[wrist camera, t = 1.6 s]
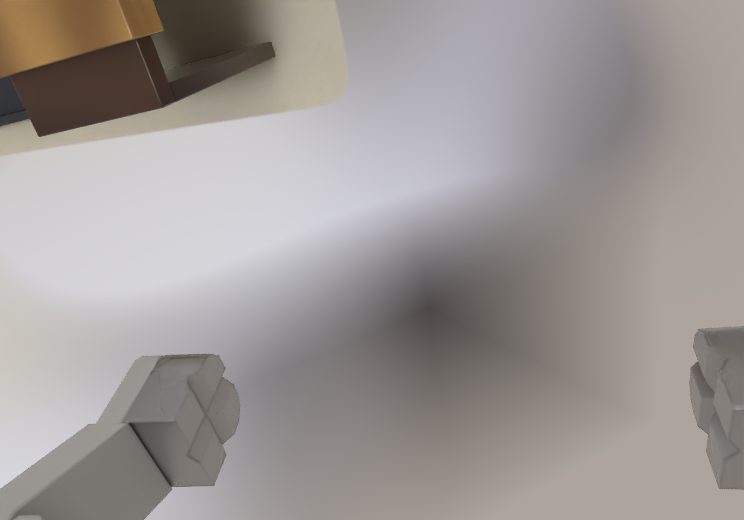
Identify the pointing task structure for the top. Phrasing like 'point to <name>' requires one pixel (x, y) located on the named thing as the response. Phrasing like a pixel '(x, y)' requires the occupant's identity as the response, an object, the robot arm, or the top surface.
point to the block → (68, 29)
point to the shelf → (120, 83)
